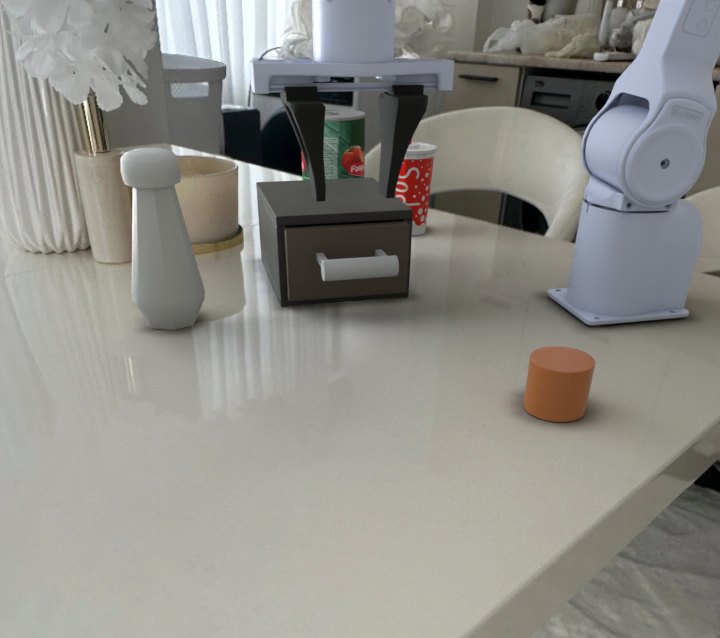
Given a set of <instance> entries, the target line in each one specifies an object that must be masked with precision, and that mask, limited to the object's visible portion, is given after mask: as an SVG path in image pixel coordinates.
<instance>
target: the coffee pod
mask: <svg viewBox="0 0 720 638" xmlns="http://www.w3.org/2000/svg"><path fill="white" fill-rule="evenodd" d="M595 368H596V360H595V358H594V357H593V356H592V355H591V354H589V353H587V352H585V351H583V350H581V349H577V348H574V347H569V346H560V345H551V346H550V345H549V346H541V347H538V348H536V349H535V350H533V351H532V352H531V353H530V356H529V361H528V367H527V374H526V375H527V376H526V383H525V389H524V395H523V401H522V406H523V408H524V410H525V411H526V412H527V413H528V414H530V415H531V416H533V417H535V418H538V419H540V420H543V421H547V422H552V423H553V422H554V423H568V422H574V421H578V420H580V419H581V418H582V417H583V416H584V415H585V414H586V411H587V405H588V400H589V396H590V391H591V386H592V382H593V377H594V373H595Z"/></svg>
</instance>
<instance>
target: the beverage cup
mask: <svg viewBox="0 0 720 638" xmlns="http://www.w3.org/2000/svg"><path fill="white" fill-rule="evenodd" d="M437 151H438V146H437V145H435V144H432V143H427V142H420V141H419V142H418V141H417V142H416V141H413V138H412V139H411V142H410V144H409V147H408V149H407V152H406V155H405V157H404V160H403V164H402V167H401V170H400V174H399V178H398V182H397V186H396V191H395V196H396V197H397V198H399V199H400V200H401V201H402V202H404V203H405V204H406V205H407V206H409V207H410V208H411V209H412V210H413V217H412V237H413V236H420V235H423V234H424V233H426V228H427V220H428V211H429V203H430V196H431V195H430V194H431V186H432V177H433V170H434V160H435V157H437Z"/></svg>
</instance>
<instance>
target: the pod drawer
mask: <svg viewBox="0 0 720 638" xmlns="http://www.w3.org/2000/svg"><path fill="white" fill-rule="evenodd" d="M409 232H410V225H409V224H408V223H407V222H406V221H401V222H393V220H388V221H369V222H351V223H332V224H314V225H296V226H286V228H284V239H285V259H286V278H287V297H288V299H289V301H300V300H313V299H327V298H340V297H353V296H366V295H380V294H393V293H406V292H407V276H408V254H409Z"/></svg>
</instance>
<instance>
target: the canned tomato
mask: <svg viewBox="0 0 720 638" xmlns="http://www.w3.org/2000/svg"><path fill="white" fill-rule="evenodd" d="M366 116H367V115H366V113H365V112H364V111H360V110H356V109H347V108H326V109H325V124H324V170H325V179H346V178H365V173H366V172H365V169H366V168H365V166H366V165H365V164H366V163H365V162H366V161H365V160H366V156H365V154H366ZM300 150H301V149H300ZM300 153H301V174H302V178H301V179H302V180H309V175H308V171H307V167H306V163H305V160H304V156H303V153H302V150H301V152H300Z"/></svg>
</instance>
